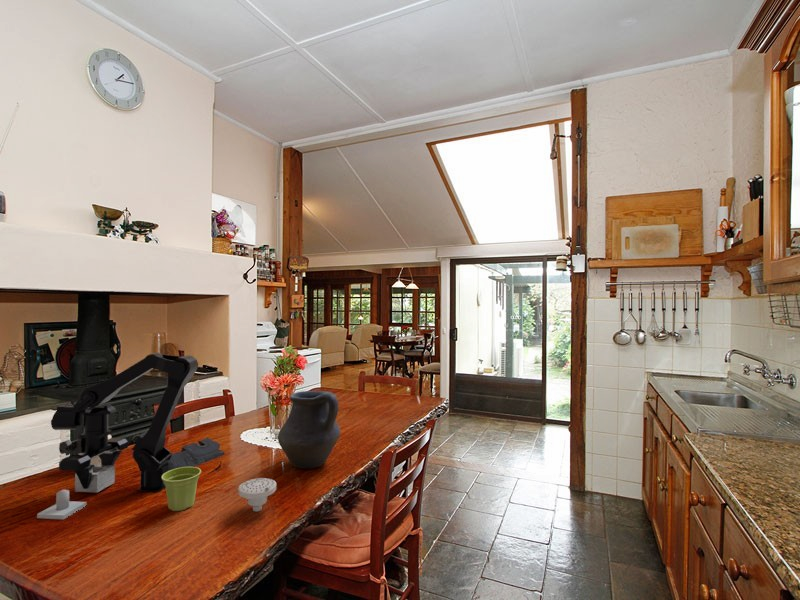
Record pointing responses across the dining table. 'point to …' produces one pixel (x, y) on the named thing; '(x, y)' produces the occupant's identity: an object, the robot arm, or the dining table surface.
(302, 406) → the pitcher
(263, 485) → the showerhead
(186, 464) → the dark slate chunk
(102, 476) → the collar
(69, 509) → the shaft base
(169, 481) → the plant pot
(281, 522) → the dining table surface
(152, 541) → the dining table surface
